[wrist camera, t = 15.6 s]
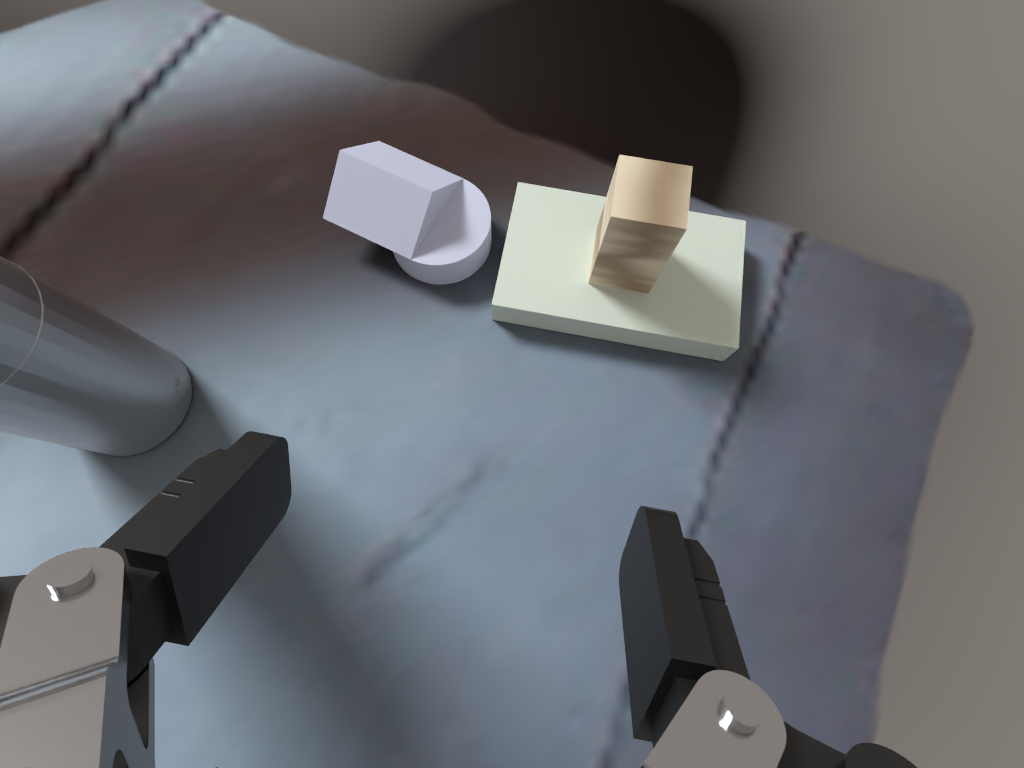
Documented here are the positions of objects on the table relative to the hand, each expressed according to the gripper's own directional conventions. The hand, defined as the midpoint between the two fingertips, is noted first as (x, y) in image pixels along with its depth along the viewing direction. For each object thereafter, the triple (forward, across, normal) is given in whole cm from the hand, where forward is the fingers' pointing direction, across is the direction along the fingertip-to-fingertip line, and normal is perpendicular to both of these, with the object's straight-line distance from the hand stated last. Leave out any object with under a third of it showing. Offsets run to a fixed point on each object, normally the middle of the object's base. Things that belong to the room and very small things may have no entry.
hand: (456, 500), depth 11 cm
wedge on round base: (+38, +11, +3) cm, 39 cm away
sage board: (+36, -7, +4) cm, 37 cm away
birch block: (+34, -7, +2) cm, 35 cm away
